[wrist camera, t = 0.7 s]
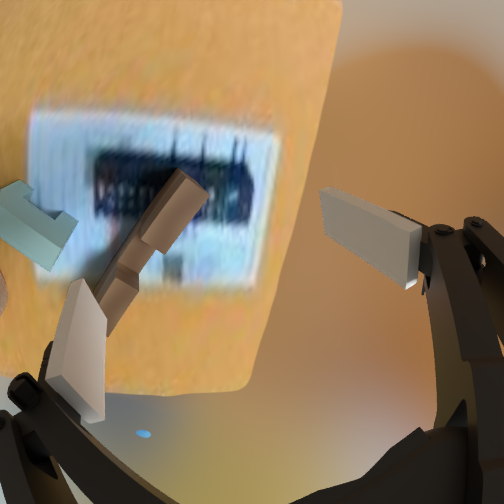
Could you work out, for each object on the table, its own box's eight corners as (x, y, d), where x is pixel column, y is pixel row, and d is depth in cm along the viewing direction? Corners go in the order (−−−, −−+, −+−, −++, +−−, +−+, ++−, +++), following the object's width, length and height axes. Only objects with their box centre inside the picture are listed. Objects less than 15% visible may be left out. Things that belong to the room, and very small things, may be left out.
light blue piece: (10, 199, 27) (-22, 221, 20) (19, 179, 27) (-12, 195, 19) (67, 240, 32) (49, 272, 25) (78, 221, 32) (61, 248, 24)
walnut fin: (93, 291, 36) (86, 326, 29) (177, 167, 34) (186, 177, 27) (111, 301, 38) (108, 337, 31) (196, 181, 36) (209, 195, 29)
